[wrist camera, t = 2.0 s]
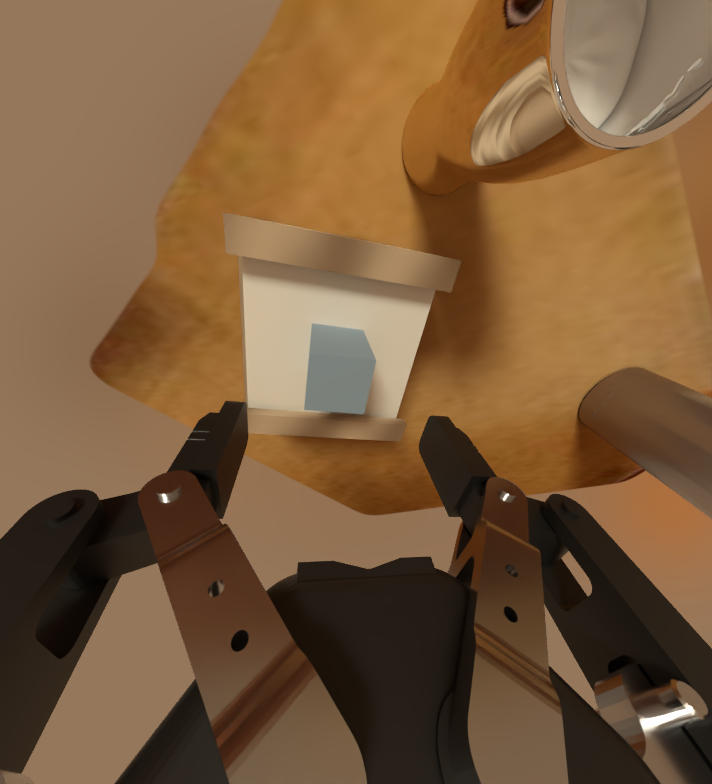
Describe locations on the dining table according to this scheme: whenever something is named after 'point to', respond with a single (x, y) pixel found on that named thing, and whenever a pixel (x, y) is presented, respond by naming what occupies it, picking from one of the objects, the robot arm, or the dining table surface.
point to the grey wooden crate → (341, 258)
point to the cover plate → (330, 304)
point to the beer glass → (558, 88)
